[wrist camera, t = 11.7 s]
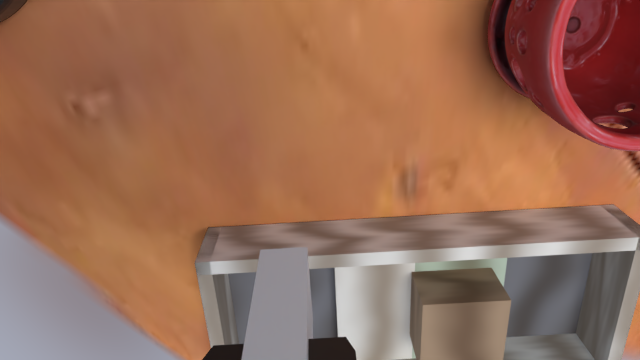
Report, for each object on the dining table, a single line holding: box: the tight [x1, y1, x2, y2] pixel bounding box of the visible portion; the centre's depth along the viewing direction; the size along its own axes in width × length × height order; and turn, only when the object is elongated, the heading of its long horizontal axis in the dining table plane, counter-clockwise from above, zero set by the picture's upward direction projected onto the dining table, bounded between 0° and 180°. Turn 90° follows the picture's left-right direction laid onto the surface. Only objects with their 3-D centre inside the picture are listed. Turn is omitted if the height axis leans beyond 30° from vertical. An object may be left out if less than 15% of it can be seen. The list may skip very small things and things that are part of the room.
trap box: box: [195, 205, 640, 360], centre depth 43 cm, size 36×15×6 cm, turn 93°
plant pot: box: [488, 0, 640, 151], centre depth 30 cm, size 13×13×12 cm
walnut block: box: [410, 268, 511, 360], centre depth 41 cm, size 7×7×4 cm
